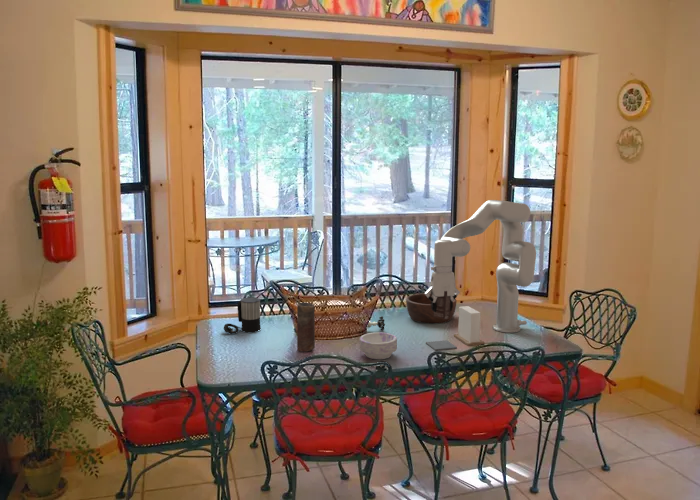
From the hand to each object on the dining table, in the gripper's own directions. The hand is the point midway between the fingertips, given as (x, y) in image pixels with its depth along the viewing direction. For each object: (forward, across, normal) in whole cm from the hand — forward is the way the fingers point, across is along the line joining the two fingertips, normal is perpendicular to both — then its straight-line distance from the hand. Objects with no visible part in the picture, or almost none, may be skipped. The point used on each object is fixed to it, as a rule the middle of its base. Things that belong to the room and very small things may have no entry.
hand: (441, 310), depth 255 cm
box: (+3, 0, 0) cm, 3 cm away
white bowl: (+16, -30, -5) cm, 34 cm away
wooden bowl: (+16, +13, +42) cm, 47 cm away
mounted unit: (+16, +15, +4) cm, 22 cm away
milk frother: (+16, -80, +45) cm, 93 cm away
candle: (+16, -57, +10) cm, 60 cm away
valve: (+16, -22, +30) cm, 41 cm away
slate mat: (+16, 0, 0) cm, 16 cm away
